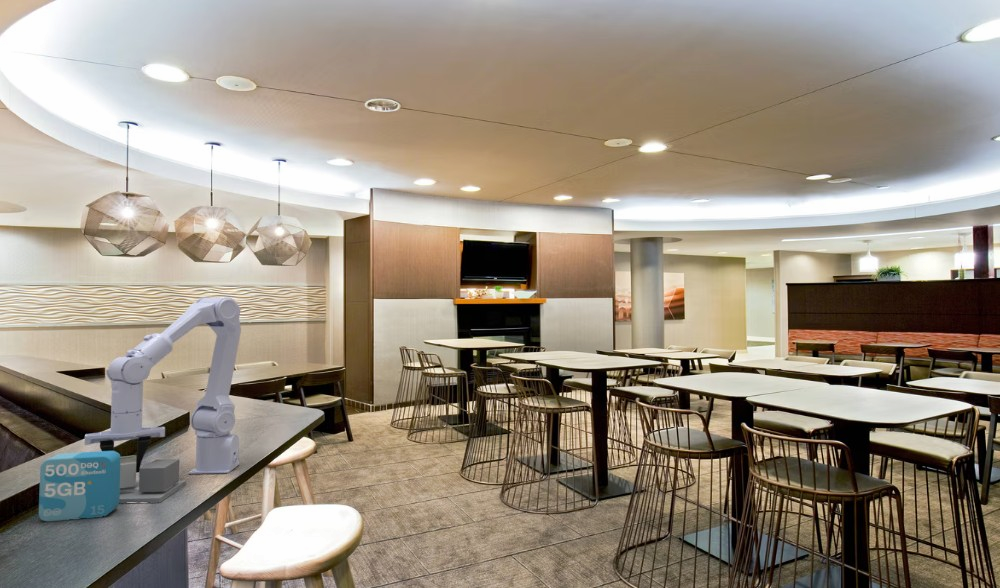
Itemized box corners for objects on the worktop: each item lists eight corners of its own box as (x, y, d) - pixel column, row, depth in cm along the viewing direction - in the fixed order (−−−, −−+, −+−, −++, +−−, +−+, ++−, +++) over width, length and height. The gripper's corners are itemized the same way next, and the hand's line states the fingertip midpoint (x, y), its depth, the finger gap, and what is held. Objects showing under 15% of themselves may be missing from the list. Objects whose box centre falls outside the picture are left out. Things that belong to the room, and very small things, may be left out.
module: (135, 477, 124) (135, 454, 124) (135, 486, 118) (136, 462, 118) (113, 480, 122) (114, 457, 122) (113, 489, 116) (113, 465, 116)
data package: (37, 522, 104) (40, 459, 104) (50, 514, 108) (52, 453, 109) (109, 517, 107) (111, 455, 107) (119, 509, 111) (121, 450, 112)
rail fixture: (185, 484, 127) (186, 456, 127) (159, 502, 115) (160, 471, 115) (93, 486, 125) (94, 457, 125) (57, 505, 113) (58, 473, 113)
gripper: (164, 405, 128) (162, 463, 127) (86, 411, 119) (84, 473, 119) (166, 410, 122) (164, 471, 121) (84, 416, 114) (82, 482, 113)
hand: (124, 473), depth 120 cm, fingers closed on module, 4 cm apart
